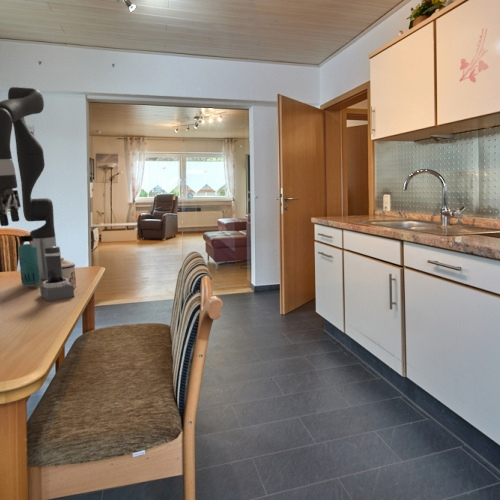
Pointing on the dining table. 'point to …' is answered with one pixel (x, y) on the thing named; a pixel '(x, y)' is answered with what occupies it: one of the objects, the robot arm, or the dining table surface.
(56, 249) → the lens
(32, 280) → the beverage bottle
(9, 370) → the dining table surface
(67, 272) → the teacup with lid
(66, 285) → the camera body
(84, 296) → the dining table surface
